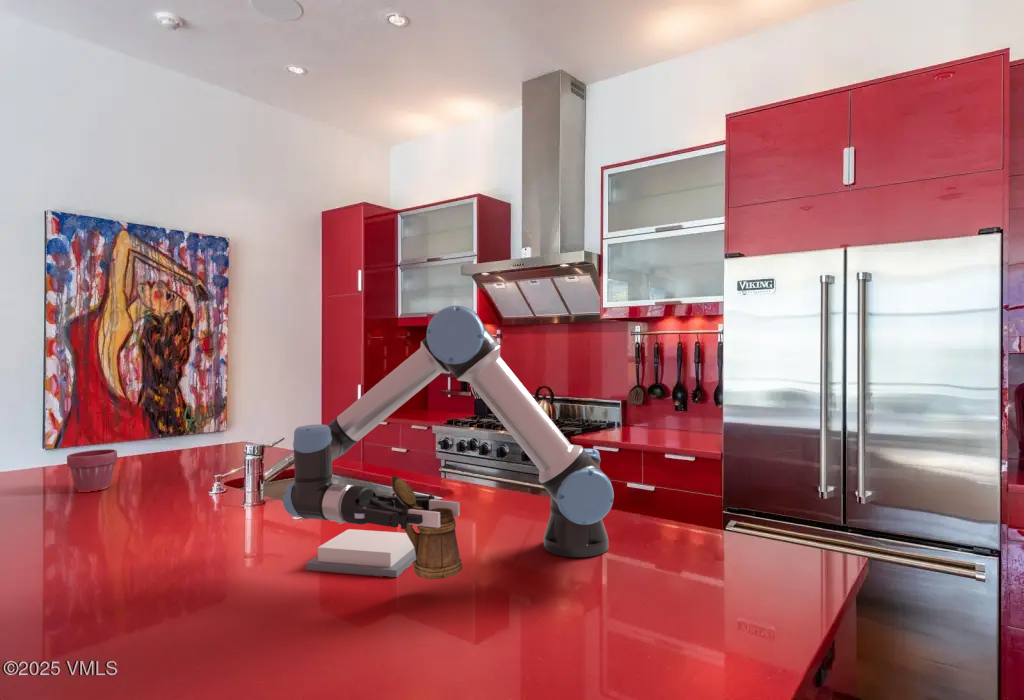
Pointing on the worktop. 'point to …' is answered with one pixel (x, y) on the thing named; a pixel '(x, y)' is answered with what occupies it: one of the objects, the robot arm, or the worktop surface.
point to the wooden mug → (431, 538)
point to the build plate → (365, 553)
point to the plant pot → (92, 468)
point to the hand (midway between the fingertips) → (449, 514)
